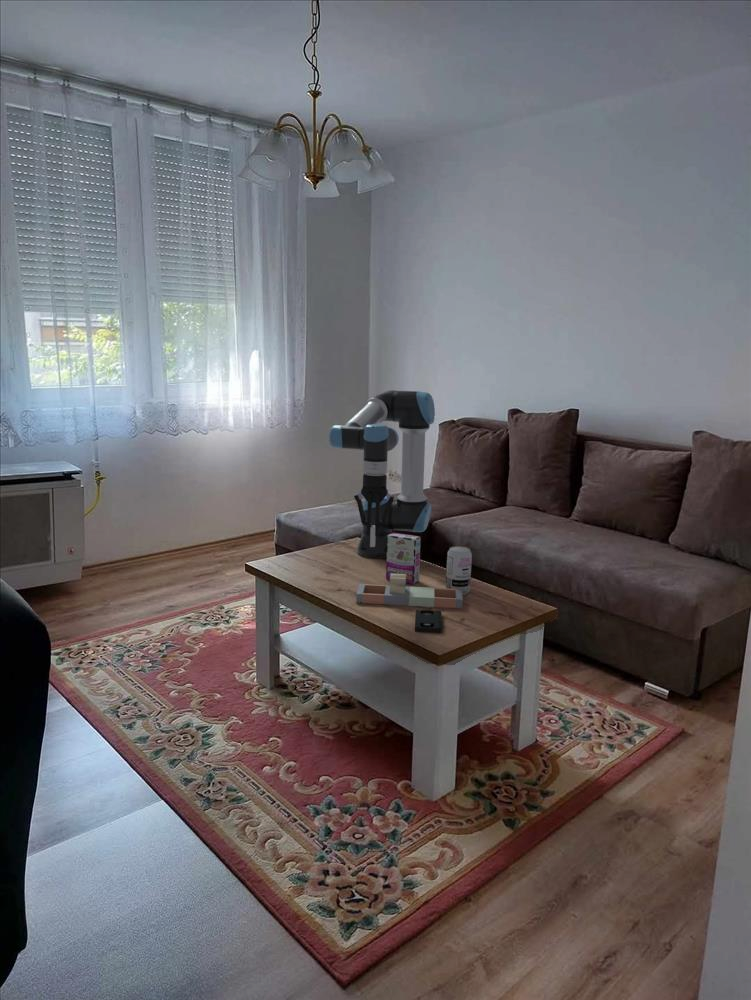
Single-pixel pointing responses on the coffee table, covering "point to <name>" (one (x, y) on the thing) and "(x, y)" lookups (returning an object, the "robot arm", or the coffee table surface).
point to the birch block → (397, 583)
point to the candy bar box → (403, 556)
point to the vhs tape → (428, 621)
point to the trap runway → (410, 596)
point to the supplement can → (459, 569)
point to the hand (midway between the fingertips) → (372, 545)
